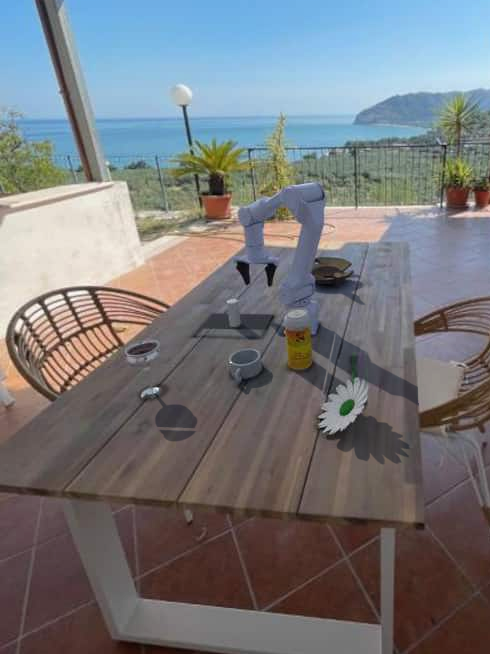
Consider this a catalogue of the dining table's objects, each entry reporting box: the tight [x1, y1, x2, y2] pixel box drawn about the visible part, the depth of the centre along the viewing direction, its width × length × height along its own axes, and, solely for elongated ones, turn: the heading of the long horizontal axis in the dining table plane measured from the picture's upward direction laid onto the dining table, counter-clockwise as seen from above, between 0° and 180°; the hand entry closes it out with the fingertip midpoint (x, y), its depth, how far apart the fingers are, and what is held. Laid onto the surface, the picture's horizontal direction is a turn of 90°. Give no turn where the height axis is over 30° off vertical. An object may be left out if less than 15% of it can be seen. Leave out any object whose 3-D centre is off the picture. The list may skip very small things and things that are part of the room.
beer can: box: [283, 308, 313, 371], centre depth 96 cm, size 6×6×15 cm
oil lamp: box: [311, 256, 355, 286], centre depth 151 cm, size 22×30×8 cm
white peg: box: [226, 298, 241, 327], centre depth 117 cm, size 3×3×8 cm
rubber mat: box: [192, 313, 274, 338], centre depth 119 cm, size 20×14×1 cm
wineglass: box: [124, 339, 162, 399], centre depth 87 cm, size 7×7×12 cm
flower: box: [317, 355, 370, 436], centre depth 88 cm, size 13×6×30 cm
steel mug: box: [228, 348, 263, 386], centre depth 95 cm, size 10×7×4 cm
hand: (259, 284), depth 125 cm, fingers open, 7 cm apart
